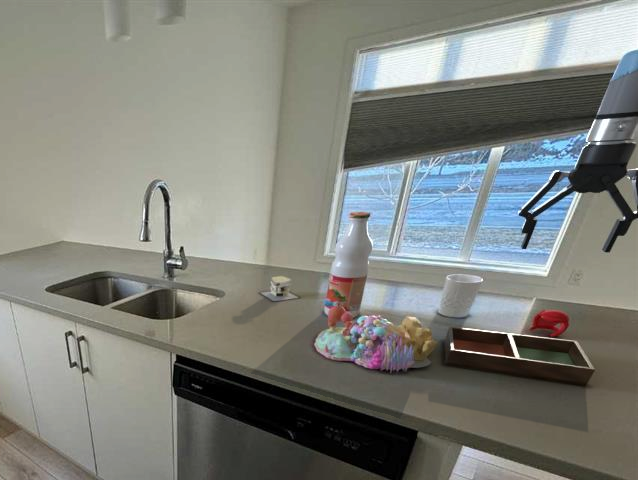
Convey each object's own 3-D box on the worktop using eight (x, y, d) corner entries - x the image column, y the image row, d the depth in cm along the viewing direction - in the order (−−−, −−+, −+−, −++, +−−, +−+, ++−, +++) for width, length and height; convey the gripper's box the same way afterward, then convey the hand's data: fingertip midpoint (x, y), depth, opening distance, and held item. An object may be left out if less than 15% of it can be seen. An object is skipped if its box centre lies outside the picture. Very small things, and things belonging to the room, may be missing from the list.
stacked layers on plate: (259, 292, 142) (261, 277, 139) (283, 289, 143) (285, 274, 140) (273, 301, 133) (275, 285, 131) (298, 297, 134) (301, 281, 132)
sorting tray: (568, 356, 88) (577, 340, 87) (585, 386, 78) (595, 369, 77) (444, 340, 100) (449, 326, 98) (445, 365, 90) (450, 349, 88)
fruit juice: (362, 319, 115) (386, 214, 101) (327, 319, 117) (345, 216, 103) (353, 307, 123) (374, 209, 109) (320, 308, 125) (336, 211, 111)
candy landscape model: (414, 332, 105) (424, 298, 100) (448, 376, 85) (462, 336, 81) (310, 329, 112) (315, 297, 107) (320, 369, 93) (326, 332, 88)
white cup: (466, 309, 115) (479, 274, 110) (473, 319, 109) (486, 283, 104) (433, 307, 118) (443, 273, 113) (438, 317, 112) (449, 281, 107)
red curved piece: (528, 325, 103) (538, 303, 100) (560, 330, 99) (572, 306, 96) (528, 336, 98) (538, 313, 95) (562, 341, 94) (574, 317, 91)
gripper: (530, 148, 86) (493, 250, 97) (715, 137, 73) (649, 256, 83) (526, 146, 91) (492, 243, 102) (699, 136, 78) (639, 248, 89)
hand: (562, 249), depth 93 cm, fingers open, 13 cm apart
